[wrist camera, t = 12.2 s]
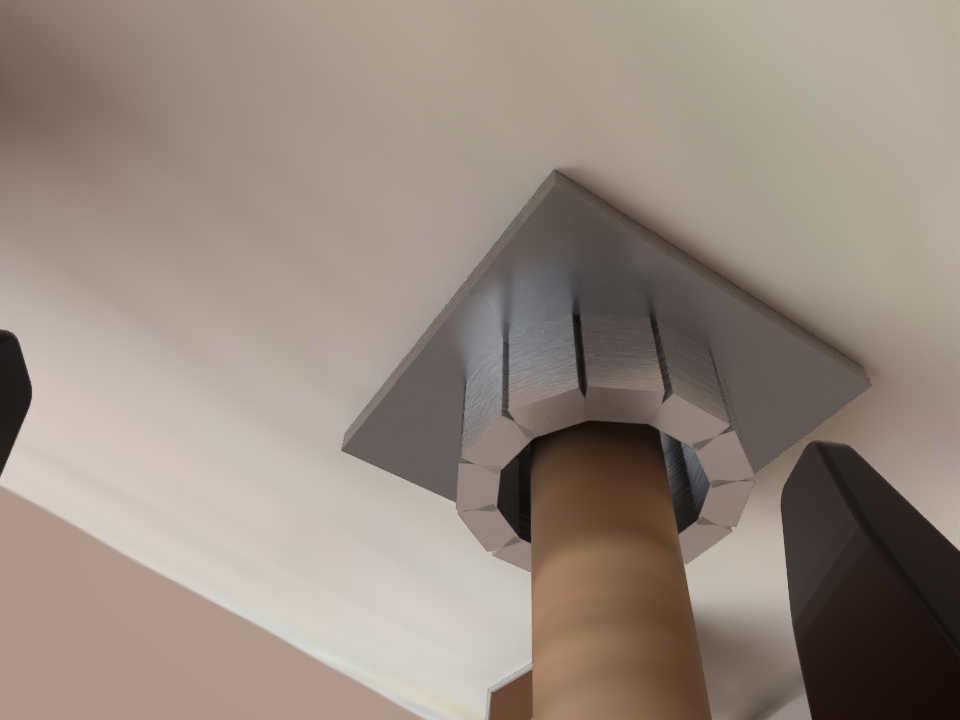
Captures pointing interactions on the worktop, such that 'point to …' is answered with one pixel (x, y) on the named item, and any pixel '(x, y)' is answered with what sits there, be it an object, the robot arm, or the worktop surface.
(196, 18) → the worktop surface
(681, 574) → the brown wooden cylinder
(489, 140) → the worktop surface
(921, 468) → the worktop surface
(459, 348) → the bracket
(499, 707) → the food container
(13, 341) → the robot arm
